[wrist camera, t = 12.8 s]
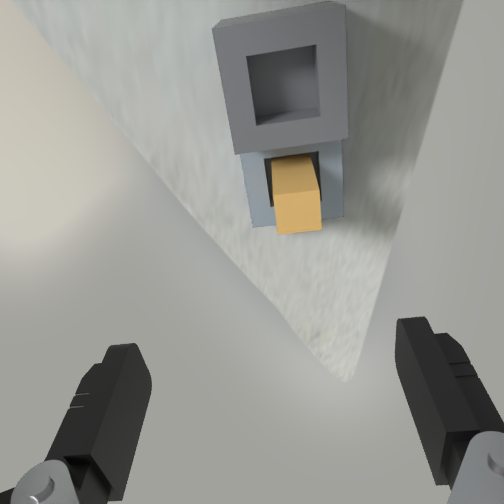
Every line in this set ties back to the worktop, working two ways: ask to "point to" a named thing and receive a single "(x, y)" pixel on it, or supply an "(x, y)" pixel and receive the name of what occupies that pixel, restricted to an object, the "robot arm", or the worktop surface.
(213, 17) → the worktop surface
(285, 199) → the plug
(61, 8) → the worktop surface
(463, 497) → the robot arm
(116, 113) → the worktop surface
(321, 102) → the socket block
